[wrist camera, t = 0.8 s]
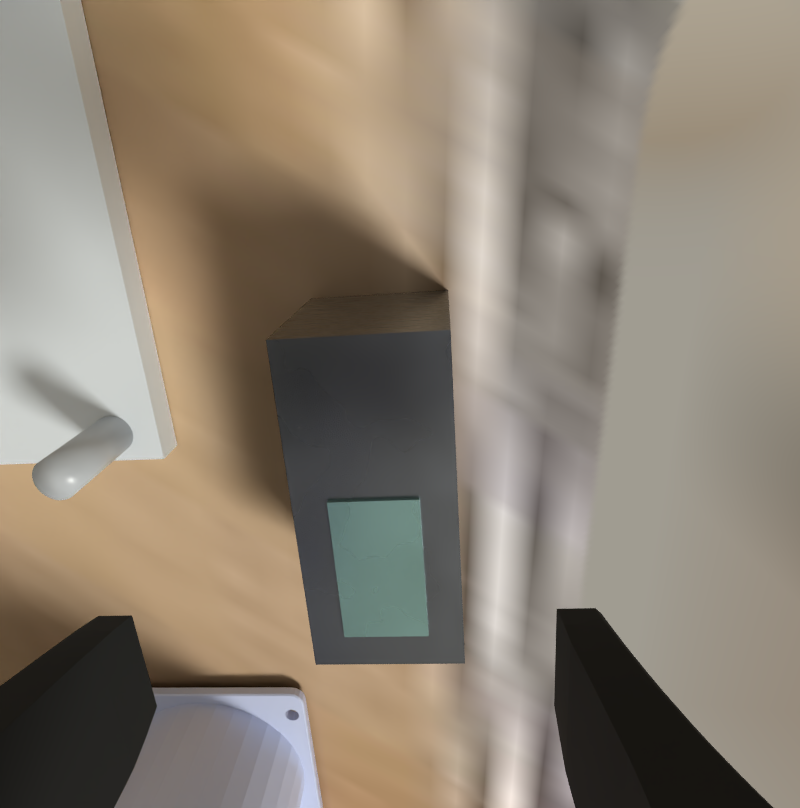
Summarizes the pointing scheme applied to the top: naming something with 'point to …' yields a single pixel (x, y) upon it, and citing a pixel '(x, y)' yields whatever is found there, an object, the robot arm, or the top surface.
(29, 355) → the tray
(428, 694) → the top surface
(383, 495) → the block
